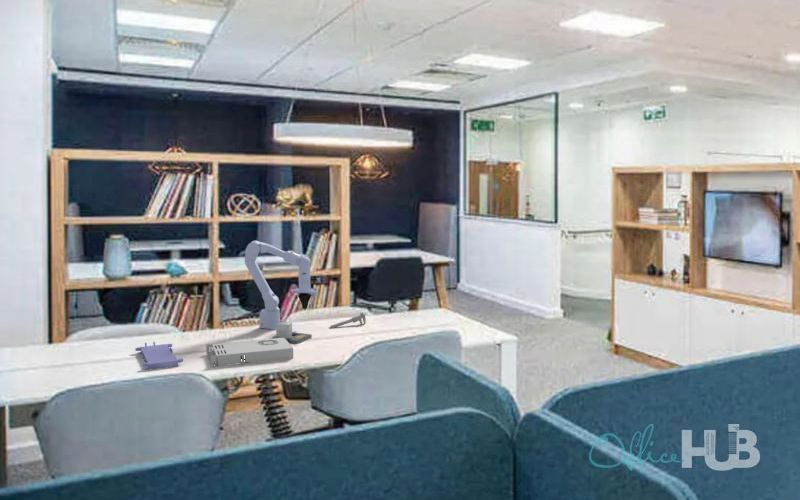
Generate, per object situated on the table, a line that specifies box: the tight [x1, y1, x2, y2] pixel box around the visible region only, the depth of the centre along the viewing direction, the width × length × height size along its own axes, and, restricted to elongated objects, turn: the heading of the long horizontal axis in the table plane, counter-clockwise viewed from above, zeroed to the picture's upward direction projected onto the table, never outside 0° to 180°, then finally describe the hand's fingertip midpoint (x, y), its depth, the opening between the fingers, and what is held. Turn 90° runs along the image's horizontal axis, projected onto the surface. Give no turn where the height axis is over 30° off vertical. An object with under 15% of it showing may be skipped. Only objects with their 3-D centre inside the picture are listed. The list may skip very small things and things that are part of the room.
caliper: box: [328, 312, 366, 329], centre depth 323 cm, size 20×1×6 cm, turn 122°
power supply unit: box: [205, 338, 294, 367], centre depth 268 cm, size 19×33×5 cm, turn 112°
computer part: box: [134, 341, 184, 370], centre depth 265 cm, size 30×4×15 cm
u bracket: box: [271, 331, 313, 345], centre depth 297 cm, size 14×12×2 cm
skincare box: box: [275, 321, 293, 338], centre depth 298 cm, size 6×6×7 cm
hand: (304, 308), depth 320 cm, fingers closed
